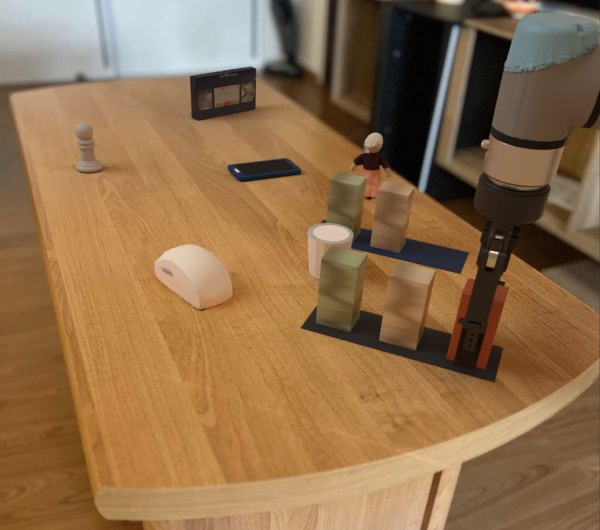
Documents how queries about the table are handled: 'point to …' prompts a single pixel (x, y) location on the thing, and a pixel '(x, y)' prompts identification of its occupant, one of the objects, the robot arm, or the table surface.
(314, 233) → the pale pink cylinder
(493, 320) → the orange rectangular block
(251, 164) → the cell phone
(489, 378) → the mat
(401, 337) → the near blocks
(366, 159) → the grandmother figurine
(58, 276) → the table surface
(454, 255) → the word mat far
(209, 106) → the vhs cassette tape
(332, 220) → the far blocks
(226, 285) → the computer mouse
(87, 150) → the chess piece
